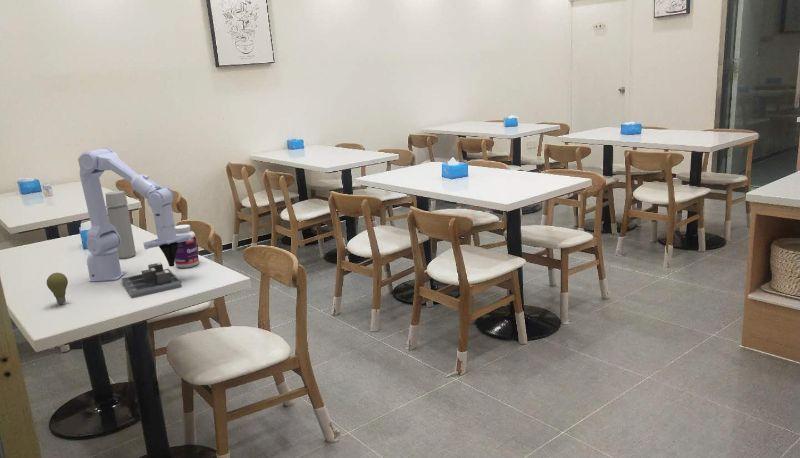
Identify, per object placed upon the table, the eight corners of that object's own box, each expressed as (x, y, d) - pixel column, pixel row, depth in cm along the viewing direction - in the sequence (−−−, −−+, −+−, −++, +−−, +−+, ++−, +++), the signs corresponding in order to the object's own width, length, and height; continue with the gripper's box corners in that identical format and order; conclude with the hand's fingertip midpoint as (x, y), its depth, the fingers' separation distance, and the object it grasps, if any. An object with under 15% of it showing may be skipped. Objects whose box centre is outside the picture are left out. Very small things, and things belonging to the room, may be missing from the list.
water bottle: (141, 254, 235) (130, 191, 229) (122, 260, 228) (111, 195, 222) (126, 252, 240) (115, 189, 233) (108, 257, 233) (96, 193, 227)
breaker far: (151, 278, 202) (149, 266, 201) (149, 276, 204) (147, 264, 203) (164, 275, 204) (162, 263, 203) (162, 273, 206) (160, 261, 205)
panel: (131, 298, 187) (130, 292, 187) (122, 284, 201) (121, 278, 201) (181, 286, 195) (180, 281, 195) (169, 274, 209) (168, 268, 209)
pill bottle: (191, 269, 213) (186, 229, 210) (171, 268, 215) (165, 229, 211) (203, 262, 221) (198, 223, 217) (183, 261, 222) (177, 223, 219)
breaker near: (158, 287, 193) (156, 274, 192) (157, 284, 195) (155, 272, 194) (172, 284, 195) (170, 271, 194) (169, 281, 197) (167, 269, 196)
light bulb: (56, 301, 188) (50, 270, 186) (75, 300, 189) (69, 269, 186) (48, 308, 183) (41, 276, 180) (67, 306, 183) (60, 275, 181)
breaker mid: (145, 284, 196) (143, 272, 195) (143, 282, 198) (141, 270, 197) (158, 281, 198) (156, 269, 197) (156, 279, 200) (154, 267, 199)
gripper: (144, 232, 190) (151, 273, 194) (191, 223, 198) (197, 263, 201) (139, 228, 196) (146, 268, 199) (185, 220, 203) (191, 258, 207)
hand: (171, 265), depth 201 cm, fingers closed
